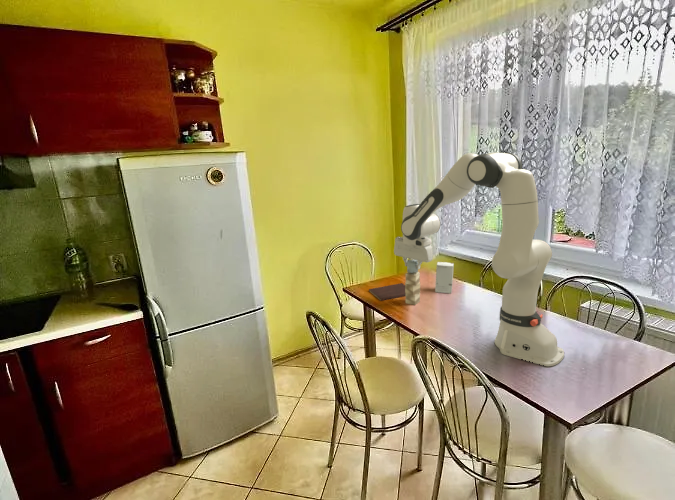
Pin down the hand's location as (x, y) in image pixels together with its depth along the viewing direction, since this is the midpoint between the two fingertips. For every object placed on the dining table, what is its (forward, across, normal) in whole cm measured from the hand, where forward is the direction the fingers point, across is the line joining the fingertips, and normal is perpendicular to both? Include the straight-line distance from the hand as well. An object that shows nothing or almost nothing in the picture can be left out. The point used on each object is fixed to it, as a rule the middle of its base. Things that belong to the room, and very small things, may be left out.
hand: (412, 267), depth 174 cm
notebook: (+18, -16, +3) cm, 25 cm away
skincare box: (+18, +3, +22) cm, 29 cm away
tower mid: (+13, 0, 0) cm, 13 cm away
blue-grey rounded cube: (+2, 0, 0) cm, 2 cm away
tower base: (+18, 0, 0) cm, 18 cm away
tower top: (+8, 0, 0) cm, 8 cm away
